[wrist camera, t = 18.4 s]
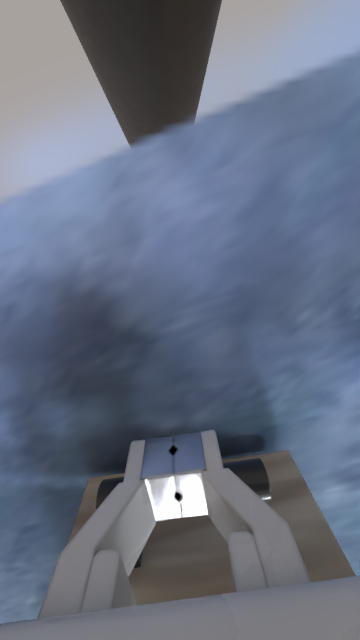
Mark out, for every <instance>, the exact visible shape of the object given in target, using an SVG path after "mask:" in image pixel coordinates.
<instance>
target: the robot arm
mask: <svg viewBox="0 0 360 640" xmlns="http://www.w3.org/2000/svg"><path fill="white" fill-rule="evenodd" d="M206 514H208V516H209V518H210V519H211V520H212V522H213V523H214V525H215V526H216V528H217V529H218V530H219V532H220V533H221V535H222V536H223V538H224V539H225V540H226V542H227V543H228V551H229V559H230V567H231V576H232V584H233V593H226V594H218V595H211V596H203V597H196V598H188V599H181V600H173V601H166V602H158V603H151V604H143V605H137V603H136V600H135V597H134V594H133V591H132V588H131V585H130V582H129V579H128V578H129V576H130V574H131V572H132V570H133V568H134V566H135V564H136V562H137V560H138V558H139V556H140V554H141V552H142V550H143V548H144V546H145V544H146V542H147V540H148V538H149V536H150V534H151V532H152V530H153V528H154V526H155V524H156V521H161V520H167V519H173V518H179V517H187V516H197V515H206ZM0 640H360V576H353V577H346V578H338V579H331V580H323V581H316V582H311V579H310V577H309V574H308V572H307V569H306V567H305V564H304V562H303V559H302V557H301V554H300V552H299V549H298V547H297V545H296V542H295V540H294V537H293V535H292V532H291V530H290V527H289V525H288V523H287V522H286V521H285V520H284V519H283V518H282V517H281V516H279V515H278V514H277V513H276V512H275V511H274V510H273V509H272V508H271V507H270V506H269V505H268V504H267V503H265V502H264V501H263V500H262V499H261V498H260V497H259V496H258V495H257V494H256V493H255V492H254V491H253V490H252V489H250V488H249V487H248V486H247V485H246V484H245V483H244V482H243V481H242V480H241V479H240V478H239V477H238V476H236V475H235V474H234V473H233V472H232V471H231V470H230V469H229V468H224V467H223V462H222V458H221V454H220V449H219V445H218V440H217V436H216V432H215V430H207V431H201V433H200V432H196V433H189V434H182V435H176V436H168V437H160V438H151V439H146V440H136V441H132V442H131V444H130V449H129V454H128V459H127V464H126V470H125V475H124V480H123V483H118V485H117V486H116V487H115V488H114V489H113V491H112V492H111V493H110V494H109V495H108V497H107V498H106V499H105V500H104V501H103V503H102V504H101V505H100V506H99V507H98V509H97V510H96V511H95V512H94V513H93V515H92V516H91V517H90V518H89V519H88V521H87V522H86V523H85V524H84V525H83V527H82V528H81V529H80V530H79V531H78V533H77V534H76V535H75V536H74V537H73V539H72V540H71V541H70V542H69V543H68V545H67V546H66V547H65V548H64V549H63V551H62V552H61V553H60V555H59V558H58V561H57V564H56V566H55V569H54V572H53V575H52V578H51V581H50V584H49V587H48V589H47V592H46V595H45V598H44V601H43V604H42V607H41V610H40V613H39V615H38V618H37V619H31V620H24V621H16V622H9V623H2V624H0Z"/></svg>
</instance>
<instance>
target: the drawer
mask: <svg viewBox="0 0 360 640" xmlns="http://www.w3.org/2000/svg"><path fill="white" fill-rule="evenodd" d="M222 462H223V467H224V468H229V469H230V470H231V471H232V472H233V473H234V474H235V475H236V476H238V477H239V478H240V479H241V480H242V481H243V482H244V483H245V484H246V485H247V486H248V487H249V488H250V489H252V490H253V491H254V492H255V493H256V494H257V495H258V496H259V497H260V498H261V499H262V500H263V501H264V502H265V503H267V504H268V505H269V506H270V507H271V508H272V509H273V510H274V511H275V512H276V513H277V514H278V515H279V516H281V517H282V518H283V519H284V520H285V521H286V522H287V523H288V525H289V527H290V530H291V532H292V535H293V537H294V540H295V542H296V545H297V547H298V549H299V552H300V554H301V557H302V559H303V562H304V564H305V567H306V569H307V572H308V574H309V577H310V579H311V582H316V581H323V580H331V579H338V578H346V577H353V576H356V575H355V573H354V571H353V570H352V568H351V566H350V564H349V562H348V560H347V558H346V557H345V555H344V553H343V551H342V549H341V547H340V545H339V544H338V542H337V540H336V538H335V536H334V534H333V532H332V531H331V529H330V527H329V525H328V523H327V521H326V519H325V518H324V516H323V514H322V512H321V510H320V508H319V506H318V505H317V503H316V501H315V499H314V497H313V495H312V493H311V492H310V490H309V488H308V486H307V484H306V482H305V480H304V479H303V477H302V475H301V473H300V471H299V469H298V467H297V466H296V464H295V462H294V460H293V458H292V456H291V454H290V453H289V451H280V452H272V453H265V454H258V455H251V456H244V457H236V458H229V459H222ZM124 475H125V473H121V474H113V475H106V476H99V477H92V478H89V480H88V483H87V486H86V489H85V492H84V495H83V498H82V501H81V504H80V507H79V511H78V514H77V517H76V520H75V523H74V526H73V529H72V532H71V535H70V538H69V541H68V543H69V542H70V541H71V540H72V539H73V537H74V536H75V535H76V534H77V533H78V531H79V530H80V529H81V528H82V527H83V525H84V524H85V523H86V522H87V521H88V519H89V518H90V517H91V516H92V515H93V513H94V512H95V511H96V510H97V509H98V507H99V506H100V505H101V504H102V503H103V501H104V500H105V499H106V498H107V497H108V495H109V494H110V493H111V492H112V491H113V489H114V488H115V487H116V486H117V485H118V483H123V480H124ZM67 545H68V544H67ZM128 579H129V582H130V585H131V588H132V591H133V594H134V597H135V600H136V603H137V605H143V604H151V603H158V602H166V601H173V600H181V599H188V598H196V597H203V596H211V595H218V594H226V593H233V584H232V576H231V567H230V559H229V551H228V543H227V542H226V540H225V539H224V538H223V536H222V535H221V533H220V532H219V530H218V529H217V528H216V526H215V525H214V523H213V522H212V520H211V519H210V518H209V516H208V514H206V515H197V516H187V517H179V518H173V519H167V520H161V521H156V524H155V526H154V528H153V530H152V532H151V534H150V536H149V538H148V540H147V542H146V544H145V546H144V548H143V550H142V552H141V554H140V556H139V558H138V560H137V562H136V564H135V566H134V568H133V570H132V572H131V574H130V576H129V578H128Z"/></svg>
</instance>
